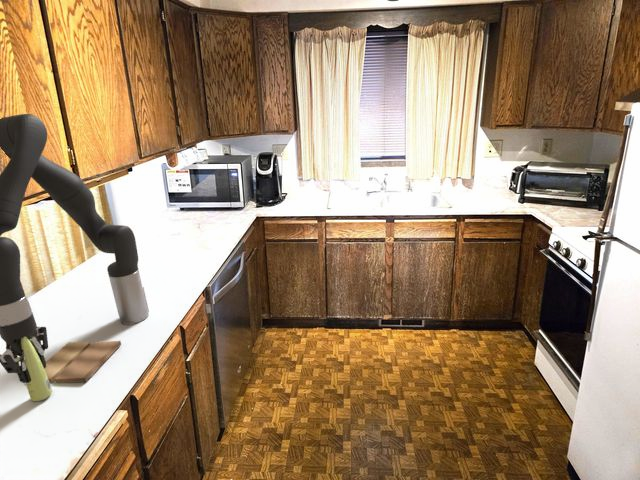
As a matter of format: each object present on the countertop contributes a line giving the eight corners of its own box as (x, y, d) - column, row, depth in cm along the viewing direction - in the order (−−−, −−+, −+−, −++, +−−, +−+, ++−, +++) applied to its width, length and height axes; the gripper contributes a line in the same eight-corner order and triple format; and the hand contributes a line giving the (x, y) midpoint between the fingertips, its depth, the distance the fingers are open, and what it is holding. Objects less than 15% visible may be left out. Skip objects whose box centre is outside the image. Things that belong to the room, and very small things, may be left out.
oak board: (69, 345, 138) (68, 342, 138) (92, 345, 137) (91, 342, 137) (28, 382, 121) (26, 378, 121) (53, 382, 120) (52, 378, 120)
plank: (94, 345, 137) (93, 342, 137) (121, 344, 136) (120, 340, 136) (55, 382, 120) (54, 378, 120) (86, 381, 119) (84, 377, 119)
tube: (24, 402, 112) (0, 335, 106) (36, 389, 117) (14, 324, 111) (45, 401, 112) (23, 334, 106) (57, 388, 117) (37, 323, 111)
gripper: (21, 302, 114) (40, 358, 120) (-25, 332, 101) (-1, 393, 106) (48, 301, 113) (66, 358, 119) (5, 332, 100) (27, 394, 106)
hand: (34, 374), depth 113 cm, fingers closed on tube, 5 cm apart
